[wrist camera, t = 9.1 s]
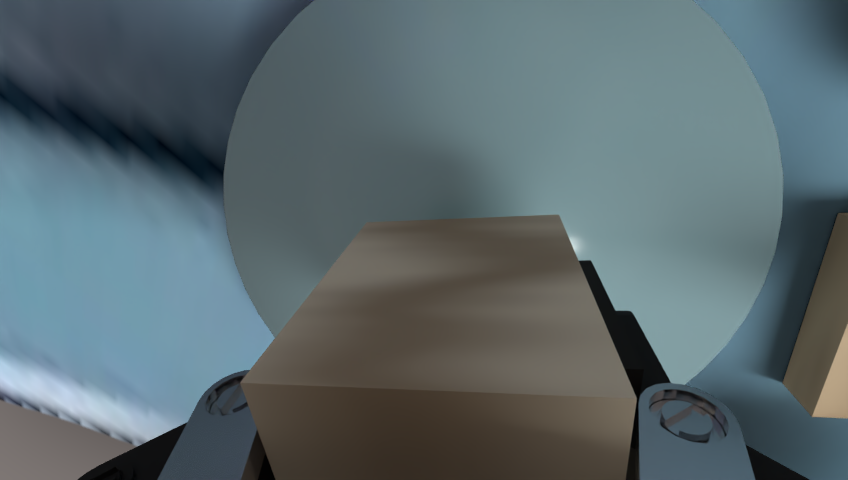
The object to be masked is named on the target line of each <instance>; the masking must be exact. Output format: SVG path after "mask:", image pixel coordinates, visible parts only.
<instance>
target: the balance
mask: <svg viewBox="0 0 848 480" xmlns="http://www.w3.org/2000/svg"><path fill="white" fill-rule="evenodd" d="M783 384H784V386H785V387H786V388H787V389H788V390H789V391H790V392H791V394H792V395H793V396H794V397H795V398H796V399H797V400H798V401H799V403H800V404H801V405H802V406H803V407H804V408H805V409H806V411H807V412H808V413H809V414H810V415H811V416H812V417H828V418H848V213H838V215H837V218H836V221H835V224H834V227H833V230H832V233H831V237H830V240H829V243H828V246H827V249H826V252H825V255H824V258H823V261H822V264H821V267H820V270H819V273H818V276H817V279H816V282H815V285H814V288H813V292H812V295H811V298H810V301H809V304H808V307H807V310H806V313H805V316H804V319H803V322H802V325H801V328H800V331H799V334H798V337H797V340H796V343H795V347H794V350H793V353H792V356H791V359H790V362H789V365H788V368H787V371H786V374H785V377H784V380H783Z"/></svg>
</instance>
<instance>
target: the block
mask: <svg viewBox="0 0 848 480" xmlns="http://www.w3.org/2000/svg"><path fill="white" fill-rule="evenodd" d="M240 384H241V387H242V389H243V392H244V395H245V397H246V400H247V403H248V406H249V408H250V411H251V414H252V417H253V419H254V422H255V425H256V428H257V430H258V433H259V436H260V438H261V441H262V444H263V447H264V449H265V452H266V455H267V458H268V460H269V463H270V466H271V469H272V471H273V474H274V477H275V479H276V480H626V473H627V466H628V458H629V451H630V444H631V437H632V430H633V423H634V416H635V409H636V402H637V398H636V395H635V393H634V391H633V388H632V386H631V383H630V381H629V379H628V376H627V374H626V372H625V369H624V367H623V365H622V362H621V360H620V357H619V355H618V353H617V350H616V348H615V346H614V343H613V341H612V339H611V336H610V334H609V332H608V329H607V327H606V324H605V322H604V320H603V317H602V315H601V313H600V310H599V308H598V306H597V303H596V301H595V298H594V296H593V294H592V291H591V289H590V287H589V284H588V282H587V280H586V277H585V275H584V272H583V270H582V268H581V265H580V263H579V261H578V258H577V256H576V254H575V251H574V249H573V247H572V244H571V242H570V239H569V237H568V235H567V232H566V230H565V228H564V225H563V223H562V221H561V218H560V216H559V215H534V216H509V217H484V218H459V219H435V220H410V221H385V222H366V224H365V225H364V226H363V227H362V229H361V230H360V231H359V233H358V234H357V235H356V236H355V238H354V239H353V240H352V241H351V243H350V244H349V245H348V246H347V248H346V249H345V250H344V252H343V253H342V254H341V255H340V257H339V258H338V259H337V260H336V262H335V263H334V264H333V266H332V267H331V268H330V269H329V271H328V272H327V273H326V274H325V276H324V277H323V278H322V279H321V281H320V282H319V283H318V285H317V286H316V287H315V288H314V290H313V291H312V292H311V293H310V295H309V296H308V297H307V299H306V300H305V301H304V302H303V304H302V305H301V306H300V307H299V309H298V310H297V311H296V312H295V314H294V315H293V316H292V318H291V319H290V320H289V321H288V323H287V324H286V325H285V326H284V328H283V329H282V330H281V331H280V333H279V334H278V335H277V337H276V338H275V339H274V340H273V342H272V343H271V344H270V345H269V347H268V348H267V349H266V351H265V352H264V353H263V354H262V356H261V357H260V358H259V359H258V361H257V362H256V363H255V364H254V366H253V367H252V368H251V370H250V371H249V372H248V373H247V375H246V376H245V377H244V378H243V380H242V381H241V382H240Z"/></svg>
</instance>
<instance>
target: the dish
mask: <svg viewBox="0 0 848 480" xmlns="http://www.w3.org/2000/svg"><path fill="white" fill-rule="evenodd" d="M224 211H225V218H226V226H227V233H228V238H229V242H230V245H231V249H232V253H233V257H234V261H235V264H236V267H237V269H238V272H239V274H240V277H241V279H242V282H243V284H244V287H245V289H246V291H247V293H248V295H249V297H250V299H251V301H252V302H253V304H254V306H255V308H256V310H257V312H258V314H259V315H260V317H261V318H262V320H263V321H264V323H265V324H266V325H267V327H268V328H269V330H270V331H271V333H272V334H273V336H274V337H275V338H276V337H277V335H278V334H279V333H280V331H281V330H282V329H283V328H284V326H285V325H286V324H287V323H288V321H289V320H290V319H291V318H292V316H293V315H294V314H295V312H296V311H297V310H298V309H299V307H300V306H301V305H302V304H303V302H304V301H305V300H306V299H307V297H308V296H309V295H310V293H311V292H312V291H313V290H314V288H315V287H316V286H317V285H318V283H319V282H320V281H321V279H322V278H323V277H324V276H325V274H326V273H327V272H328V271H329V269H330V268H331V267H332V266H333V264H334V263H335V262H336V260H337V259H338V258H339V257H340V255H341V254H342V253H343V252H344V250H345V249H346V248H347V246H348V245H349V244H350V243H351V241H352V240H353V239H354V238H355V236H356V235H357V234H358V233H359V231H360V230H361V229H362V227H363V226H364V225H365V224H366V222H385V221H410V220H435V219H459V218H484V217H509V216H534V215H559V216H560V218H561V221H562V223H563V225H564V228H565V230H566V232H567V235H568V237H569V239H570V242H571V244H572V247H573V249H574V251H575V254H576V256H577V258H578V261H580V260H591V261H592V263H593V265H594V267H595V269H596V272H597V274H598V276H599V278H600V280H601V282H602V284H603V286H604V288H605V290H606V292H607V294H608V296H609V298H610V300H611V303H612V305H613V307H614V309H615V311H631V312H632V313H633V314H634V316H635V318H636V320H637V321H638V323H639V325H640V327H641V329H642V331H643V332H644V334H645V336H646V338H647V340H648V341H649V343H650V345H651V347H652V349H653V351H654V352H655V354H656V356H657V358H658V360H659V362H660V363H661V365H662V367H663V369H664V371H665V373H666V374H667V376H668V378H669V380H670V382H671V383H674V384H683V385H685V384H686V383H687V382H689V381H690V380H691V379H692V378H693V377H695V376H696V375H697V374H698V373H699V372H701V371H702V370H703V369H704V368H705V367H706V366H707V365H708V364H709V363H710V362H711V361H712V360H713V359H714V358H715V356H716V355H717V354H718V353H719V352H720V351H721V350H722V349H723V348H724V347H725V346H726V345H727V343H728V342H729V341H730V339H731V338H732V337H733V335H734V334H735V332H736V331H737V330H738V328H739V327H740V325H741V324H742V323H743V321H744V320H745V319H746V317H747V315H748V314H749V312H750V310H751V308H752V306H753V304H754V302H755V300H756V298H757V297H758V295H759V293H760V291H761V289H762V287H763V285H764V282H765V279H766V277H767V274H768V271H769V268H770V265H771V262H772V260H773V257H774V254H775V251H776V246H777V240H778V235H779V230H780V225H781V219H782V211H783V169H782V162H781V156H780V149H779V142H778V135H777V132H776V129H775V126H774V123H773V120H772V117H771V114H770V111H769V108H768V105H767V102H766V99H765V95H764V94H763V92H762V90H761V88H760V86H759V84H758V82H757V81H756V79H755V77H754V75H753V73H752V71H751V69H750V67H749V66H748V64H747V62H746V60H745V58H744V56H743V55H742V54H741V53H740V51H739V50H738V49H737V48H736V46H735V45H734V44H733V42H732V41H731V40H730V39H729V37H728V36H727V35H726V34H725V32H724V31H723V30H722V29H721V27H720V26H719V25H718V23H717V22H716V21H715V20H714V19H713V18H712V17H710V16H709V15H708V14H707V13H706V12H705V11H704V10H703V9H702V8H700V7H699V6H698V5H697V4H696V3H695V2H694V1H693V0H314V1H313V2H312V3H310V4H309V5H308V6H307V7H306V8H305V9H303V10H302V11H301V12H300V13H299V14H298V15H297V16H296V17H295V18H294V19H293V20H292V21H291V22H290V24H289V25H288V26H287V27H286V28H285V29H284V31H283V32H282V33H281V34H280V35H279V36H278V38H277V39H276V40H275V41H274V42H273V43H272V45H271V46H270V48H269V49H268V51H267V52H266V54H265V56H264V57H263V59H262V60H261V62H260V64H259V65H258V67H257V68H256V70H255V72H254V73H253V75H252V76H251V78H250V81H249V83H248V85H247V87H246V90H245V92H244V94H243V97H242V99H241V101H240V103H239V106H238V108H237V111H236V114H235V118H234V122H233V125H232V129H231V132H230V136H229V140H228V145H227V152H226V160H225V168H224Z"/></svg>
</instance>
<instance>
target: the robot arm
mask: <svg viewBox="0 0 848 480" xmlns="http://www.w3.org/2000/svg"><path fill="white" fill-rule="evenodd" d="M579 263H580V265H581V268H582V270H583V272H584V275H585V277H586V280H587V282H588V284H589V287H590V289H591V291H592V294H593V296H594V298H595V301H596V303H597V306H598V308H599V310H600V313H601V315H602V317H603V320H604V322H605V324H606V327H607V329H608V332H609V334H610V336H611V339H612V341H613V343H614V346H615V348H616V350H617V353H618V355H619V357H620V360H621V362H622V365H623V367H624V369H625V372H626V374H627V376H628V379H629V381H630V383H631V386H632V388H633V391H634V393H635V395H636V398H637V402H636V409H635V416H634V423H633V430H632V437H631V444H630V451H629V458H628V466H627V473H626V480H809V479H807V478H805V477H803V476H801V475H800V474H798V473H796V472H794V471H792V470H790V469H789V468H787V467H785V466H783V465H781V464H780V463H778V462H776V461H774V460H772V459H770V458H769V457H767V456H765V455H763V454H761V453H759V452H758V451H756V450H754V449H752V448H750V447H749V446H747V445H745V441H744V438H743V434H742V431H741V427H740V425H739V423H738V421H737V419H736V417H735V415H734V414H733V413H732V412H731V411H730V410H729V409H728V408H727V406H726V405H725V404H723V403H722V402H720V401H719V400H717V399H716V398H715V397H713V396H712V395H710V394H708V393H705V392H703V391H701V390H699V389H697V388H693V387H690V386H686V385H683V384H674V383H671V382H670V380H669V378H668V376H667V374H666V373H665V371H664V369H663V367H662V365H661V363H660V362H659V360H658V358H657V356H656V354H655V352H654V351H653V349H652V347H651V345H650V343H649V341H648V340H647V338H646V336H645V334H644V332H643V331H642V329H641V327H640V325H639V323H638V321H637V320H636V318H635V316H634V314H633V313H632V312H631V311H615V309H614V307H613V305H612V303H611V300H610V298H609V296H608V294H607V292H606V290H605V288H604V286H603V284H602V282H601V280H600V278H599V276H598V274H597V272H596V269H595V267H594V265H593V263H592V261H591V260H580V261H579ZM249 371H250V370H244V371H240V372H237V373H233V374H231V375H229V376H227V377H224V378H222V379H221V380H219V381H218V382H216V383H215V384H213V385H212V386H211V387H210V388H209V389H208V390H207V391H205V393H204V394H203V395H202V397H201V398H200V400H199V401H198V403H197V405H196V407H195V409H194V411H193V413H192V415H191V417H190V419H189V420H188V422H187V423H185V424H183V425H181V426H179V427H177V428H175V429H173V430H171V431H168V432H166V433H164V434H162V435H160V436H158V437H156V438H154V439H152V440H150V441H148V442H146V443H144V444H142V445H140V446H138V447H136V448H134V449H132V450H130V451H128V452H126V453H123V454H122V455H119V456H117V457H115V458H113V459H111V460H109V461H107V462H105V463H103V464H101V465H99V466H97V467H96V468H94V469H92V470H91V471H89V472H87V473H86V474H84V475H83V476H82V477H80V478H79V479H78V480H276V479H275V477H274V474H273V471H272V469H271V466H270V463H269V460H268V458H267V455H266V452H265V449H264V447H263V444H262V441H261V438H260V436H259V433H258V430H257V428H256V425H255V422H254V419H253V417H252V414H251V411H250V408H249V406H248V403H247V400H246V397H245V395H244V392H243V389H242V387H241V384H240V382H241V381H242V380H243V378H244V377H245V376H246V375H247V373H248V372H249Z"/></svg>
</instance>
